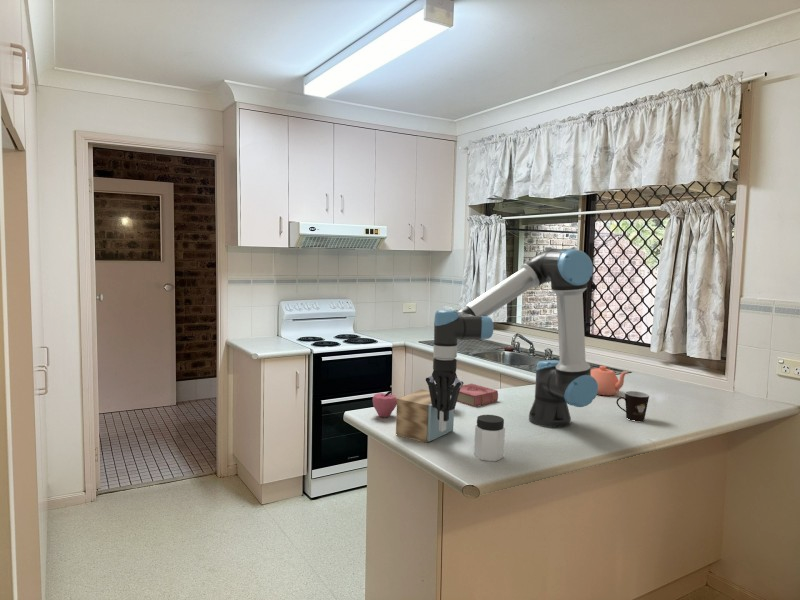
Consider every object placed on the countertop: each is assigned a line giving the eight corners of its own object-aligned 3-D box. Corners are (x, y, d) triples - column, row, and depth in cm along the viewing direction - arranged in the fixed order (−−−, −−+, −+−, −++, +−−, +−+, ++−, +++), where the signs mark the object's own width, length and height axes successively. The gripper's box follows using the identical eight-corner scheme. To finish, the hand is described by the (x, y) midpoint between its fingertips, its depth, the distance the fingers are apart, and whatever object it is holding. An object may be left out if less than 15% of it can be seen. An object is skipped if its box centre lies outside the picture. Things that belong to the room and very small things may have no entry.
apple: (385, 411, 215) (386, 386, 214) (401, 417, 209) (402, 390, 208) (367, 416, 209) (367, 390, 208) (382, 422, 202) (383, 395, 201)
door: (453, 430, 195) (455, 395, 194) (429, 442, 182) (431, 404, 181) (451, 429, 195) (452, 394, 194) (427, 441, 183) (428, 404, 182)
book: (475, 408, 225) (476, 396, 224) (448, 399, 236) (448, 388, 236) (498, 402, 234) (499, 391, 234) (471, 394, 246) (471, 383, 245)
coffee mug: (646, 417, 218) (648, 392, 218) (648, 424, 210) (650, 398, 209) (614, 413, 222) (616, 389, 221) (615, 420, 214) (617, 394, 213)
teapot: (634, 395, 252) (636, 368, 251) (618, 401, 242) (620, 373, 241) (588, 385, 268) (590, 360, 267) (572, 390, 258) (574, 364, 257)
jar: (484, 449, 178) (486, 412, 177) (507, 456, 173) (509, 418, 172) (469, 456, 172) (471, 418, 170) (492, 463, 166) (494, 424, 165)
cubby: (449, 430, 196) (451, 395, 195) (426, 442, 183) (427, 405, 181) (420, 423, 202) (422, 389, 201) (395, 434, 189) (397, 398, 188)
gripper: (468, 358, 179) (465, 431, 181) (433, 354, 186) (431, 424, 188) (457, 361, 173) (454, 436, 174) (422, 357, 180) (419, 429, 181)
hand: (442, 430), depth 181 cm, fingers closed
